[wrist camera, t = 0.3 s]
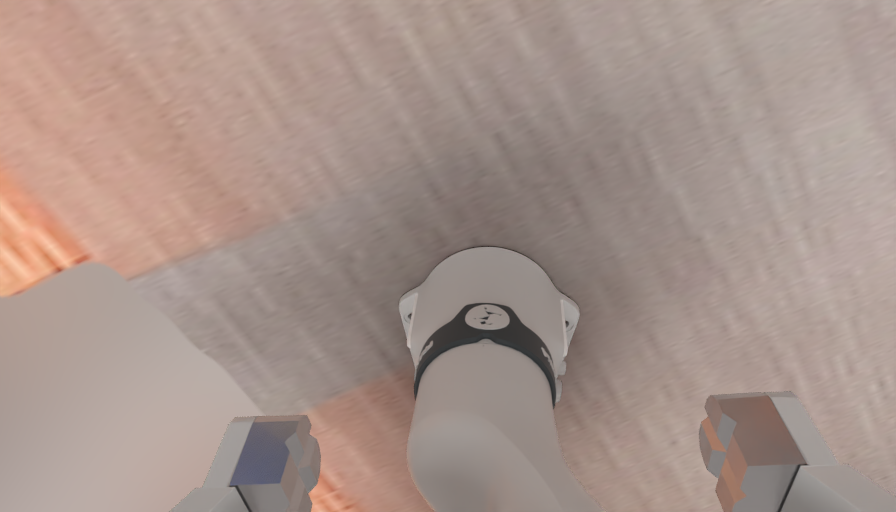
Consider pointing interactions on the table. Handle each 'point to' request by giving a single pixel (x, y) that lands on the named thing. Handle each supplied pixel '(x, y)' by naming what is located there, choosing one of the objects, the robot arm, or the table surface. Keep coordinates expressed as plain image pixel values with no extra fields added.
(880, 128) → the table surface
